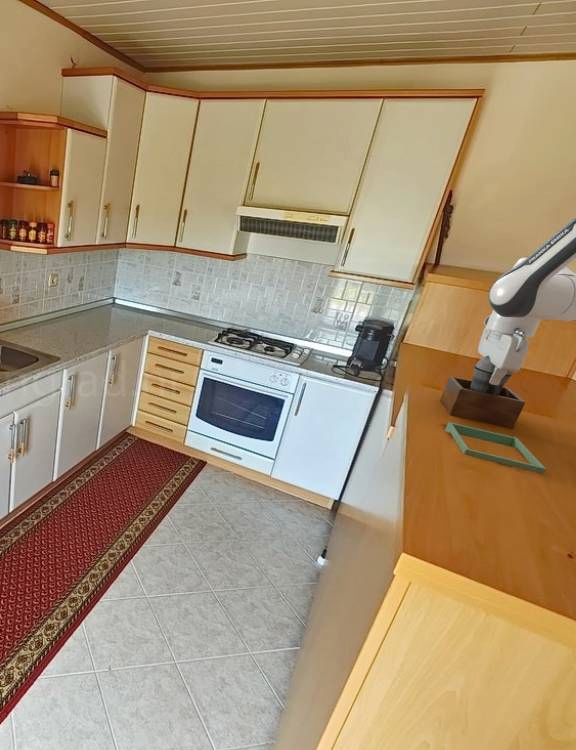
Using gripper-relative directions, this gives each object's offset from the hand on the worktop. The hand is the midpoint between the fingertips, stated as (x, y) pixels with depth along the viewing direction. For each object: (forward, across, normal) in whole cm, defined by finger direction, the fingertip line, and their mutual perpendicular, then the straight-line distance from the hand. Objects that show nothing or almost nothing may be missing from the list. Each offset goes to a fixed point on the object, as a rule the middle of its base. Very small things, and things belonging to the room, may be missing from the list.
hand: (488, 379), depth 121 cm
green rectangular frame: (+9, -30, +4) cm, 32 cm away
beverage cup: (+9, 0, 0) cm, 9 cm away
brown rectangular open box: (+9, 0, 0) cm, 9 cm away
